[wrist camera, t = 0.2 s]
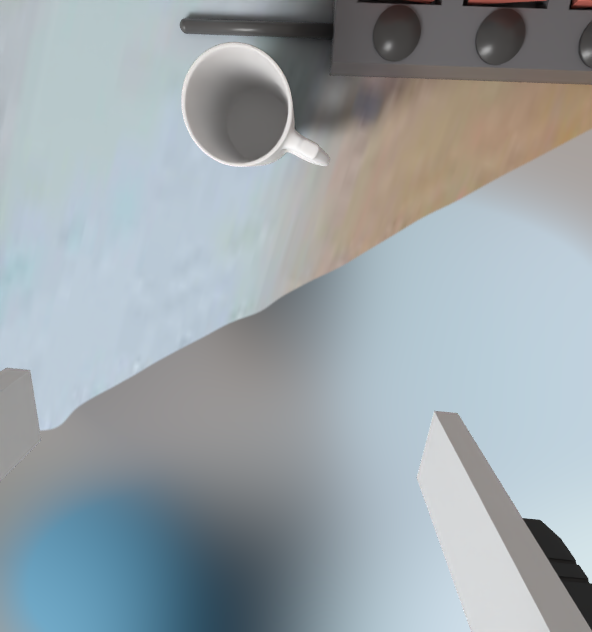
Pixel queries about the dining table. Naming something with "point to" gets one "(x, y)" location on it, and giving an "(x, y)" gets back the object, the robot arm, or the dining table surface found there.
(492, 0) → the rocker
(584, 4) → the rocker
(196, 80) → the mug
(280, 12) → the dining table surface
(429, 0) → the rocker
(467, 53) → the switch panel
